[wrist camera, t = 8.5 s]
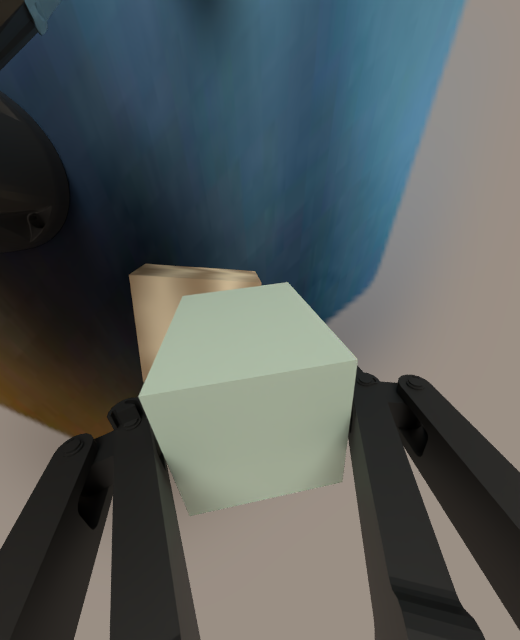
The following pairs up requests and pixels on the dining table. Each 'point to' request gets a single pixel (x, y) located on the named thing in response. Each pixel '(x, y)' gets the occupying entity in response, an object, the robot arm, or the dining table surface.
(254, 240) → the dining table surface
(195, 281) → the maple block
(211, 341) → the sage block
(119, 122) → the dining table surface
